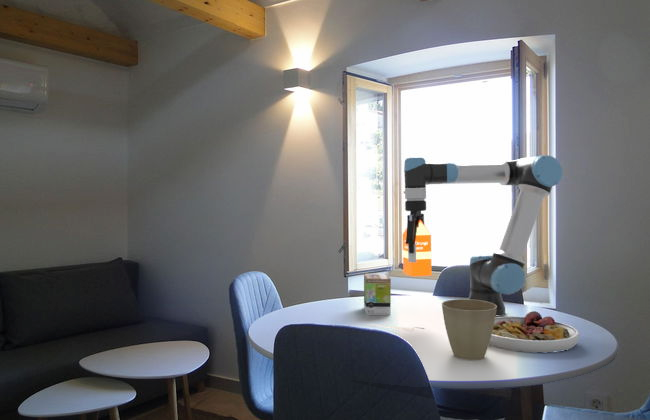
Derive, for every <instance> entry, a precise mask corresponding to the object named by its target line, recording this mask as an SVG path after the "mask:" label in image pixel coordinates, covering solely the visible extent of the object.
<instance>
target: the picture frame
mask: <svg viewBox="0 0 650 420" xmlns="http://www.w3.org/2000/svg"><path fill="white" fill-rule="evenodd" d="M367 325H371V326H376V327H382V328H387V329H393V330H394V329H395V330H400V331H406V332H412V331H413V330H415V328H416V329H418V326H417V327H415V326H414V327H405V326H404V327H403V326H395V325H394V326H393V325H392V326H391V325H383V324H382V325H381V324H372V323H370V324H369V323H367ZM420 329H422V330H424V329H425V327H420Z"/></svg>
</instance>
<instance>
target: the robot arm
mask: <svg viewBox="0 0 650 420" xmlns="http://www.w3.org/2000/svg"><path fill="white" fill-rule="evenodd" d="M403 172H404V173H403V174H404V191H403V194H404V198H405V202H404V204H405V205H404V207H405V208H404V209H405V211H406V212H410V213H409V214H407V217H406V219H407V225H406V228H407V235H406V241H405V243H406V244H408V262H415V263H416V244H415V240H416V233H417V228H418V227H419V224H418V223H419V220H421V221H422V223H423V224H424V226H425V227H426V225H425V214H424V213H422V212H425V211H426V210H427V201H426V199H427V186H428V185H445V184H446V185H449V184H451V185H455V184H497V183H498V184H500V185H501V186H515V187H518V189H519V194H518V196H517V198H516V199H517V200H516V201H515V205H514V208H513V210H512V213H511V216H510V219H509V222H508V225H507V227H506V230H505V234H504V236H503V239H502V241H501V245H500V246H499V249H498V250H495V251H494V252H493V255H473V256H471V257H470V260H469V282H470V283H469V286H470V287H469V288H470V290H469V291H470V292H469V296H468V299H472V300H481V301H487V302H490V303H493V304H495V305H496V306H497V310H496V315H502V314H504V313H505V314H506V307H505V303H504V301H503V297H502V294H504V295H512V294H516V293H517V292H519V291H520V290H521V289H522V288H523V287H524V284H525V283H526V274H525V271H524V268H525V267H524V266H525V264H526V262H525V261H524V259H523V257H524V254H525V251H526V249H527V245H528V242H529V240H530V236H531V234H532V232H533V228H534V225H535V223H536V220H537V217H538V215H539V212H540V209H541V206H542V204H543V201H544V198H546V197H548V196H550V194H551V191H552V188H553V187H554V186H557V185H558V184H559V183H560V182H561V180H562V179H563V178H562V177H563V173H564V172H563V168H562V166H561V162H560V161H559V160H558V159H557V158H556V157H554V156H552V155H547V154H546V155H543V154H541V155H537V156H531V157H530V156H529V157H523V158H519V159H515V160H508V161H507V160H505V161H504V160H503V161H501V162H500V163H481V164H478V163H475V164H473V163H472V164H470V163H469V164H457V163H456V162H455V163H454V162H448V161H447V162H426V158H425V157H423V156H422V157H421V156H414V157H408V158H406V159H405V160H404V168H403ZM426 185H427V186H426ZM416 227H417V228H416ZM505 314H504V315H505ZM502 316H503V315H502Z"/></svg>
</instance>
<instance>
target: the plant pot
mask: <svg viewBox="0 0 650 420" xmlns="http://www.w3.org/2000/svg"><path fill="white" fill-rule="evenodd" d="M441 309H442V314H443V315H442V316H443V321H444V325H445V330H446V336H447V338H448V342H449V345H450V347H451V350H452V351H451V352H452V353H453V356H454V357H455V358H457V359H461V360H466V361H480V360H483V359H484V358H485V356H486V354H487V351H488V348H489V346H490V345H489V342H490V339H491V335H492V331H493V327H494V322H495V318H496V317H497V316H496V310H497V306H496V305H495V304H493V303H490V302H487V301H481V300H472V299H469V298H467V299H466V298H465V299H464V298H462V299H461V298H460V299H448V300H444V301H443V302H441Z"/></svg>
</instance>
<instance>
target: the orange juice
mask: <svg viewBox="0 0 650 420" xmlns="http://www.w3.org/2000/svg"><path fill="white" fill-rule="evenodd" d="M418 224H419V227H418V228H417V227H416V228H417V233H416V240H415V244H416V263H415V262H408V244H406V243H405V241H406V235H407V227H405V228H406V229H405V230H404V231H403V233H402V262H403V263H402V264H403V266H402V267H403V268H402V270H403V272H402V273H403V274H404V275H407V276H411V277H426V276H432V275H433V274H432V234H431V233H430V231H429V230H428V228H427V227H426V225H425V223H424V224H423V223H422V221H421V220H419V223H418ZM424 225H425V226H424Z"/></svg>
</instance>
